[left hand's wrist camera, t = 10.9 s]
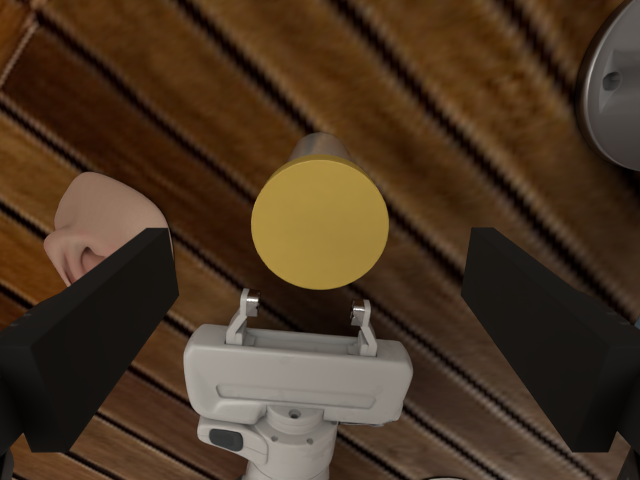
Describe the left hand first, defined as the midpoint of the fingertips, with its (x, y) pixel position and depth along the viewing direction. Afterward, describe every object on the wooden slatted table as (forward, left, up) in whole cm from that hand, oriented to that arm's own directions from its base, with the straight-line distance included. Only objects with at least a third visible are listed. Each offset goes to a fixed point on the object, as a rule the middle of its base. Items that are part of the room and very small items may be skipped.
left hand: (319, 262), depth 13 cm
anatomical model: (+10, +19, -21) cm, 30 cm away
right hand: (-6, +9, -15) cm, 18 cm away
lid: (0, 0, -4) cm, 4 cm away
